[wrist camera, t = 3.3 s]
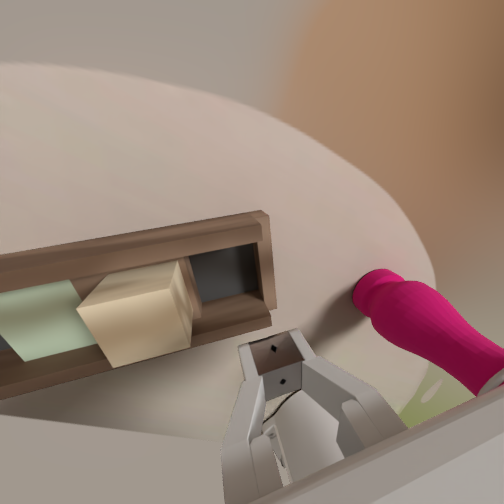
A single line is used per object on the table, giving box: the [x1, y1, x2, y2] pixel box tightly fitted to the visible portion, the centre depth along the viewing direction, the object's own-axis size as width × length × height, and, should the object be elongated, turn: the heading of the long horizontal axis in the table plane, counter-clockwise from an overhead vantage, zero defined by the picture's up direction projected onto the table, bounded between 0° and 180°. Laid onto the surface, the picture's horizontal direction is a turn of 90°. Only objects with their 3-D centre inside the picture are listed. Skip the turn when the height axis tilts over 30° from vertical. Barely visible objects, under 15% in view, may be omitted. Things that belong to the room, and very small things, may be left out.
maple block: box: [76, 260, 193, 368], centre depth 14 cm, size 5×5×4 cm
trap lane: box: [0, 210, 277, 400], centre depth 15 cm, size 9×28×4 cm, turn 97°
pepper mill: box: [352, 269, 504, 397], centre depth 16 cm, size 7×7×20 cm
